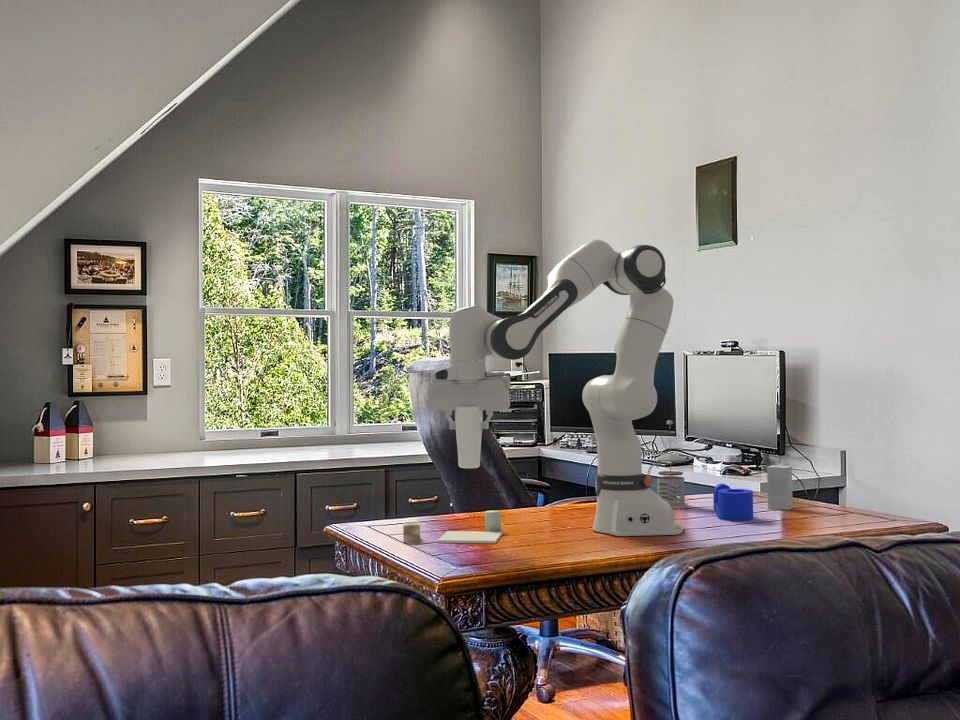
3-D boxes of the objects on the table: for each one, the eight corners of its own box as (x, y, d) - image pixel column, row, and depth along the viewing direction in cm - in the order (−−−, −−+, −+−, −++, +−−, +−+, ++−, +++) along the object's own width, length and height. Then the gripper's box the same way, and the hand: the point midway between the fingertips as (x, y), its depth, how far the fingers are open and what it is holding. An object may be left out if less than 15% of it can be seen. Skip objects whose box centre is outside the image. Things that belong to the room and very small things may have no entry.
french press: (684, 509, 272) (682, 421, 272) (644, 507, 277) (642, 421, 277) (691, 504, 281) (690, 419, 281) (653, 502, 286) (651, 418, 286)
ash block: (419, 538, 235) (419, 522, 235) (420, 541, 231) (420, 525, 231) (403, 539, 234) (403, 522, 234) (403, 542, 230) (403, 525, 230)
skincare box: (793, 508, 270) (792, 466, 270) (789, 510, 267) (788, 467, 267) (771, 506, 274) (770, 465, 274) (767, 508, 270) (766, 466, 270)
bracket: (757, 522, 251) (756, 493, 251) (722, 522, 251) (722, 493, 251) (738, 510, 270) (737, 483, 270) (706, 510, 270) (705, 483, 270)
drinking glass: (480, 469, 229) (479, 406, 229) (452, 468, 230) (452, 406, 230) (485, 466, 236) (484, 405, 236) (458, 465, 237) (458, 405, 237)
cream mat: (502, 534, 238) (502, 531, 238) (495, 543, 226) (495, 540, 226) (447, 533, 240) (447, 531, 240) (437, 542, 228) (437, 540, 228)
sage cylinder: (501, 530, 244) (501, 510, 244) (499, 532, 240) (499, 513, 240) (486, 529, 245) (486, 510, 245) (483, 532, 241) (483, 512, 241)
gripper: (511, 371, 235) (513, 427, 235) (430, 373, 238) (431, 428, 238) (508, 371, 228) (509, 429, 228) (424, 373, 232) (426, 430, 232)
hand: (469, 429), depth 233 cm, fingers closed on drinking glass, 7 cm apart
